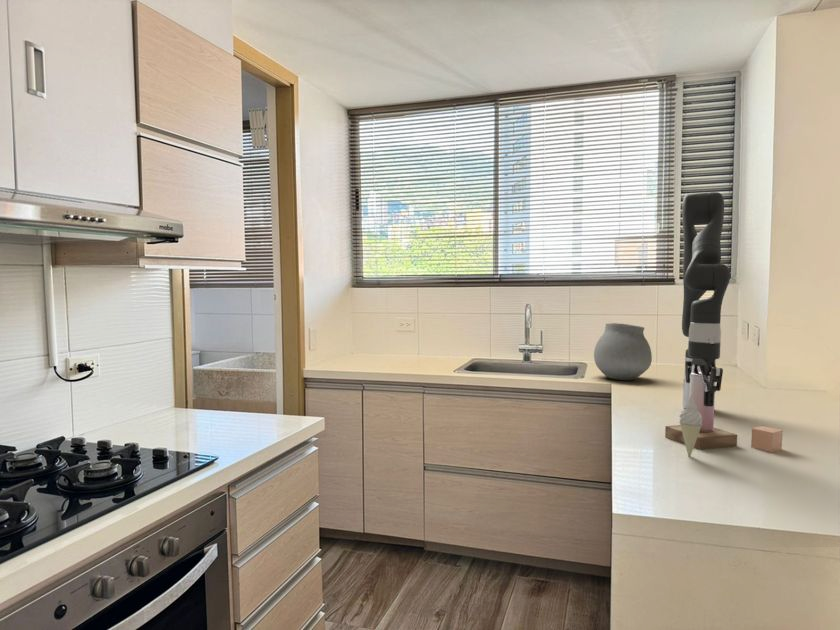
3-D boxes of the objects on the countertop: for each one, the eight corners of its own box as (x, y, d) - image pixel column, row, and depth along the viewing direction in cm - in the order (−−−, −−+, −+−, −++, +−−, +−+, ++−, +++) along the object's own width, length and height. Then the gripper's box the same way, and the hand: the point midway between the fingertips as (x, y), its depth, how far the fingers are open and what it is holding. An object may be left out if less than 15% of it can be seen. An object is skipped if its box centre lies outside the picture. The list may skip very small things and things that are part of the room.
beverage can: (691, 425, 152) (693, 371, 151) (715, 429, 148) (718, 373, 147) (685, 430, 147) (687, 373, 146) (710, 434, 143) (712, 376, 142)
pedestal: (665, 436, 151) (665, 426, 151) (700, 434, 155) (700, 423, 155) (699, 449, 140) (700, 437, 140) (736, 446, 144) (737, 434, 143)
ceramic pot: (657, 384, 235) (659, 325, 234) (597, 382, 239) (599, 324, 238) (643, 376, 259) (645, 322, 258) (589, 373, 263) (591, 321, 262)
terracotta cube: (751, 447, 143) (751, 428, 143) (760, 444, 146) (761, 425, 145) (771, 452, 139) (772, 432, 138) (781, 449, 141) (782, 430, 141)
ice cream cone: (674, 456, 134) (677, 394, 133) (682, 451, 138) (685, 391, 137) (696, 460, 130) (699, 397, 130) (704, 456, 134) (706, 394, 133)
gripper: (676, 337, 153) (674, 397, 154) (705, 342, 139) (702, 409, 140) (703, 337, 154) (700, 398, 154) (735, 343, 139) (731, 409, 140)
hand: (701, 403), depth 147 cm, fingers closed on beverage can, 6 cm apart
